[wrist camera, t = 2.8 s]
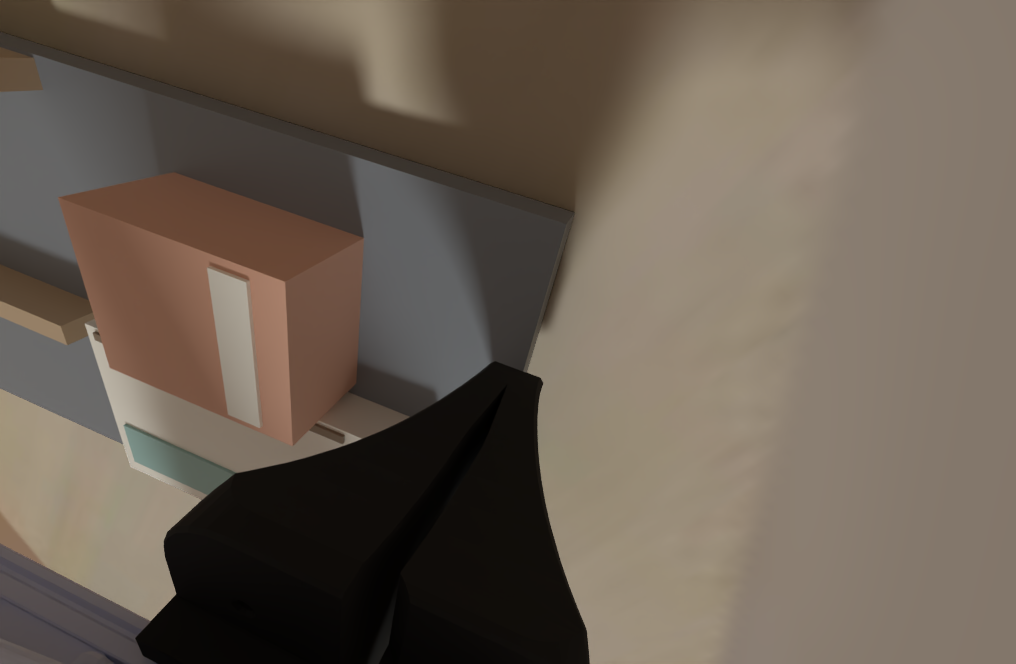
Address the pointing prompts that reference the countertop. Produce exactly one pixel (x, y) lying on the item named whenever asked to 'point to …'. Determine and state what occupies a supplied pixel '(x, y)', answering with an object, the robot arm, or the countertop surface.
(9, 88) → the board
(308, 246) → the pink carton
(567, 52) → the countertop surface
